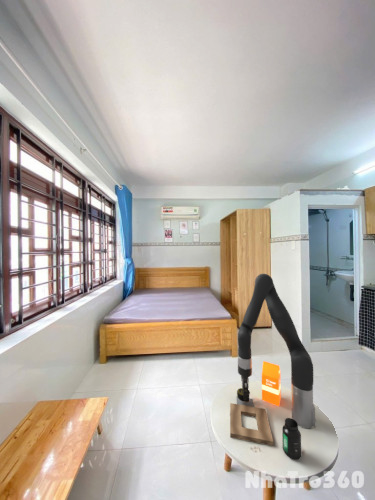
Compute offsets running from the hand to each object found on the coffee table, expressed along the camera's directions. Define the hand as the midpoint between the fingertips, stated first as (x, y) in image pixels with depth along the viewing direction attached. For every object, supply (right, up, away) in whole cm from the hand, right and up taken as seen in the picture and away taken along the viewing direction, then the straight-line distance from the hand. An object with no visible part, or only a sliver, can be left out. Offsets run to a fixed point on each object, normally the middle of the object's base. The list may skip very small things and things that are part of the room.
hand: (244, 394), depth 105 cm
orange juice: (+16, -5, +3) cm, 17 cm away
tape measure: (0, -2, 0) cm, 3 cm away
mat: (0, -5, 0) cm, 5 cm away
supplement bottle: (+12, -4, -26) cm, 29 cm away
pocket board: (-2, -4, -13) cm, 14 cm away
